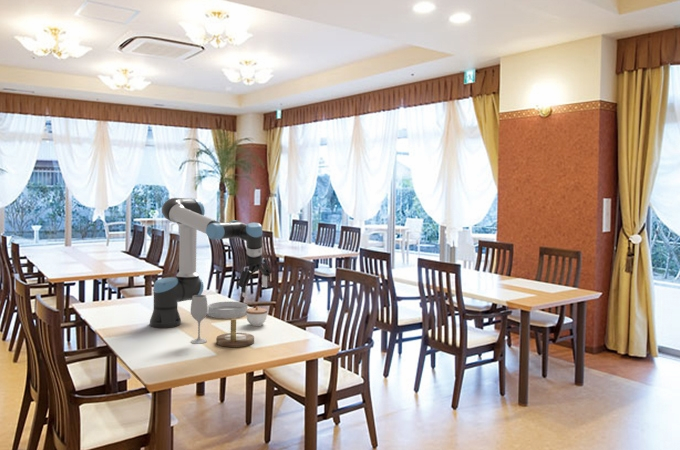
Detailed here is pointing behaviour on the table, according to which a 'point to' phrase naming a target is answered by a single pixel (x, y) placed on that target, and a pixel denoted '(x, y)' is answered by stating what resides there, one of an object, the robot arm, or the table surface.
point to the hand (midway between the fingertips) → (255, 291)
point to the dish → (227, 309)
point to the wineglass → (199, 313)
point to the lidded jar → (256, 316)
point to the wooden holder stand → (234, 338)
